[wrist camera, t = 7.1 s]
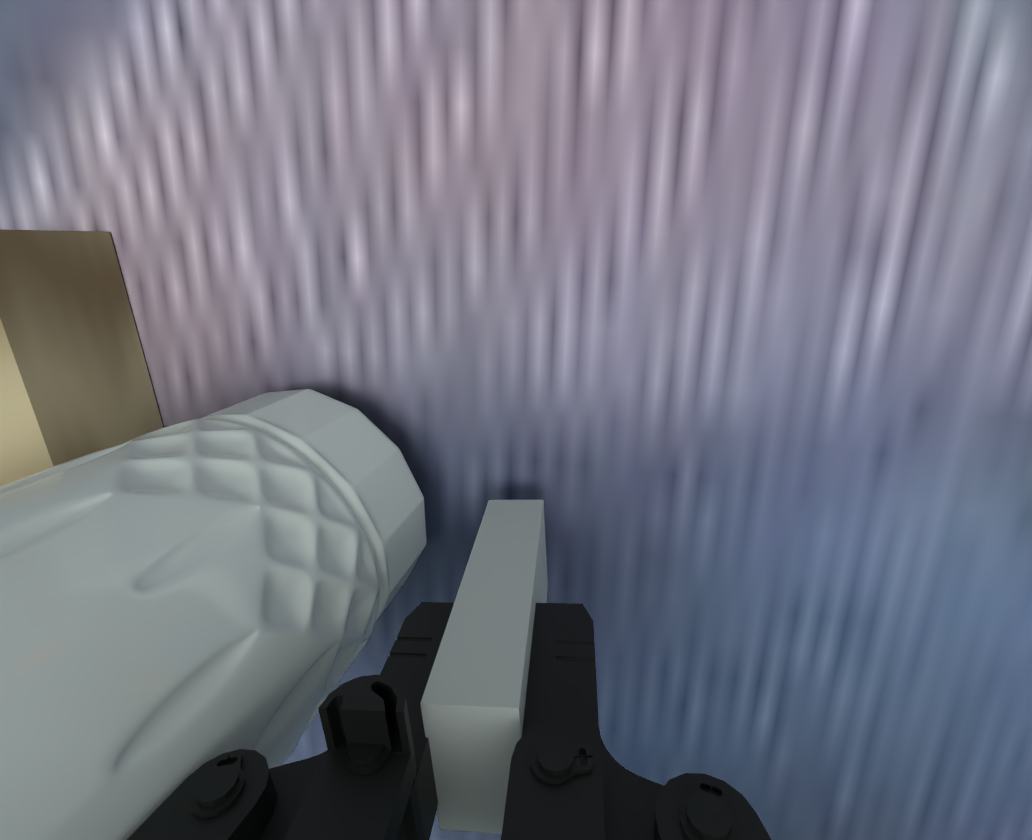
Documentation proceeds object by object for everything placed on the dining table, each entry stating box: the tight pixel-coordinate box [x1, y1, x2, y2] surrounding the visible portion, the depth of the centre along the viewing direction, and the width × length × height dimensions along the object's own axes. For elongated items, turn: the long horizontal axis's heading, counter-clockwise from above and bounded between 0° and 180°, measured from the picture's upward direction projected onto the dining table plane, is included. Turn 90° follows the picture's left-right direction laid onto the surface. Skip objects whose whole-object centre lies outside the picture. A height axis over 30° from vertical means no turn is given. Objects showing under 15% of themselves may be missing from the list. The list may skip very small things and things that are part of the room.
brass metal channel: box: [0, 230, 163, 486], centre depth 15 cm, size 15×5×4 cm, turn 1°
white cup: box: [0, 389, 427, 840], centre depth 11 cm, size 8×8×10 cm
